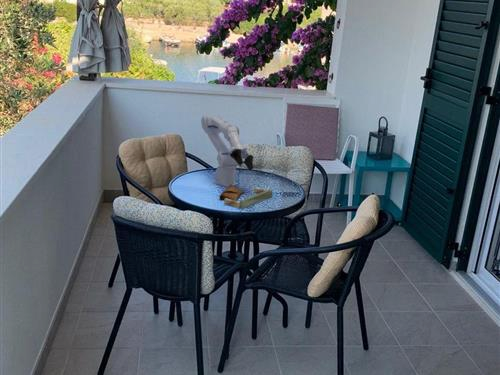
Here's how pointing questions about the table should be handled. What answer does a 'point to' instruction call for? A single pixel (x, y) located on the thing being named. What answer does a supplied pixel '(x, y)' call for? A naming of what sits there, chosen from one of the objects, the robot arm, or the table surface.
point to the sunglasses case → (231, 193)
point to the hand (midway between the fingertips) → (246, 166)
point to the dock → (250, 199)
